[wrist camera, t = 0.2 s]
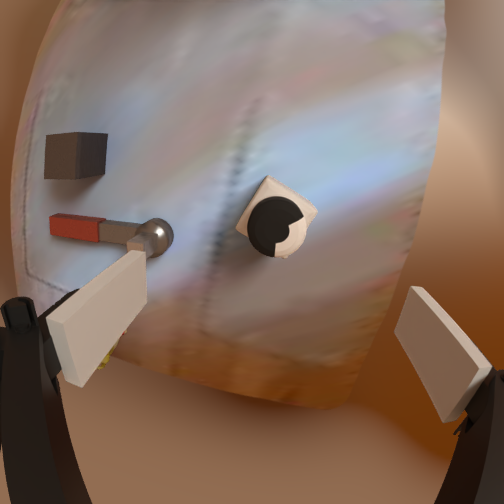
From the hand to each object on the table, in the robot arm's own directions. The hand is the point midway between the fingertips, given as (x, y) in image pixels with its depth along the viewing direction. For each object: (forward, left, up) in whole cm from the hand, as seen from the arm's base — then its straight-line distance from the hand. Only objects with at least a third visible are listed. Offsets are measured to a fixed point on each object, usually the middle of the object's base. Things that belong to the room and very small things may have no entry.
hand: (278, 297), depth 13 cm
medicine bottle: (+1, 0, -28) cm, 28 cm away
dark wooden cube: (-5, -30, -28) cm, 41 cm away
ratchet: (+7, -26, -28) cm, 39 cm away
